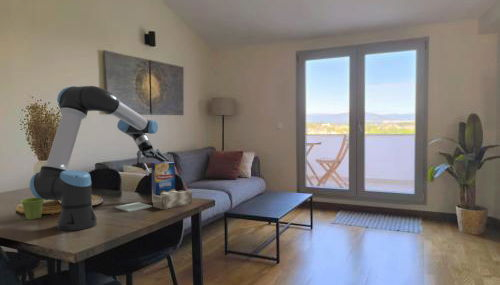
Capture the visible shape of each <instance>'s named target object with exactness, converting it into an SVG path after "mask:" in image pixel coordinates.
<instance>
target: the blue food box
mask: <svg viewBox="0 0 500 285" xmlns="http://www.w3.org/2000/svg"><path fill="white" fill-rule="evenodd" d="M150 163H151V164H150V165H151V167H150V169H151V170H150V171H151V199H152V200H151V202H152V203H153V195H158V196H160V193H164V192H170V191H176V172H175V171H176V170H175V169H176V166H175V163H176V162H174V161H168V162H165V161H164V162H160V161H159V162H150Z"/></svg>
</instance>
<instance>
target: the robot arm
mask: <svg viewBox="0 0 500 285" xmlns="http://www.w3.org/2000/svg"><path fill="white" fill-rule="evenodd" d="M56 101H57V103H58V107H59V112H60V114H61V116H60V120H59V123H58V126H57V130H56V132H55V136H54V139H53V140H52V141H53V142H52V145H51V148H50V151H49V155H48V157H47V161H46V163H44V164H43V165H41V167H40V170H39V171H38V172H37V173H35V174H33V175H32V177H31V179H30V180H29V189H30V190H29V191H31V194H32V195H33V196H34V198H39V199H44V201H57V200H60V201H61V203H60V204H61V210H60V213H59V216H58V220H57V222H56V224H57V225H56V226H57V229H58V230H59V231H79V230H80V231H81V230H85V229H90V228H92V227H95V226H97V216H96V214H95V212H94V208H93V204H92V199H93V198H92V177H91V174H90V173H89V172H88V171H85V170H78V169H76V170H74V169H69V168H68V167H69V164H70V161H71V158H72V154H73V150H74V147H75V145H76V142H77V137H78V133H79V130H80V126H81V124H82V121H83V120H84V119H86V118H87V116H88V112H96V111H97V112H101V113H104V114H107V115H112V116H114V117H116V118H117V119H119V121H118V122H117V126H116V127H117V130H119V131H120V132H122V133H124V134H126V135H127V136H128V137H131V138H132V139H133V141H134V143H135V145H136V147H137V148H138V150H137V152H136V155H137V159H136V160H137V161H136V166H138V167H140V168H141V169H142V170H143V171H144V172H145V174H146V176H150V174H151V170H150V169H149V168H148V165H147V164H146V163H145V162H146V160H147V159H156V160H157V161H159V162H170V159H169V158H168V157H167V156H166V155H165V154H164V153H162V152H161V151H160V150H159V149H158V148H157V149H156V150H155V149H154V147H153V144H152V143H151V141H150V139H149V138H148V136H147V135H151V134H152V135H153V134H157V132H158V129H159V125H158V122H157V121H156V120H152V119H151V120H149V119H147V118H146V117H143V115H141V114H140V113H138V112H136V111H135V110H133V108H131V107H129V106H128V105H126V104H125V103H123V102H122V101H121V100H120V99H119V97H118V96H116V95H115V94H114V93H112V92H110V91H109V90H106V89H104V88H101V87H99V86H95V85H84V86H82V85H81V86H76V85H75V86H69V87H65V88H62V89H61V90H60V92H59V93H58V95H57V98H56ZM142 156H143V158H142ZM141 158H142V159H141ZM141 160H142V161H141Z"/></svg>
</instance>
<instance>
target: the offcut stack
mask: <svg viewBox="0 0 500 285" xmlns="http://www.w3.org/2000/svg"><path fill="white" fill-rule="evenodd" d="M178 192H179V190H178V191H177V190H175V191H170V192H164V193H160V196H162V195H167V194H173V193H178Z"/></svg>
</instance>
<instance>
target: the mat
mask: <svg viewBox="0 0 500 285" xmlns="http://www.w3.org/2000/svg"><path fill="white" fill-rule="evenodd" d="M150 207H151V208H153V205H151V204H147V203H144V202H140V201H139V202H138V201H137V202H133V203H132V202H131V203H126V204H123V205H122V204H121V205H116V206H115V208H116V209H117V210H121V211H125V212H128V213H131V212H136V211H139V210H140V211H141V210H145V209H150Z"/></svg>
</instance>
